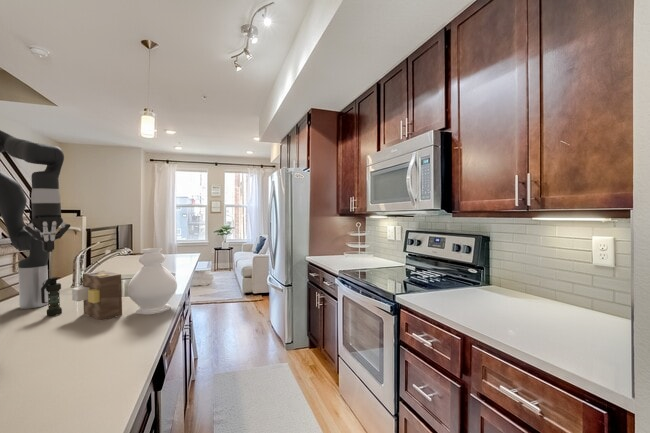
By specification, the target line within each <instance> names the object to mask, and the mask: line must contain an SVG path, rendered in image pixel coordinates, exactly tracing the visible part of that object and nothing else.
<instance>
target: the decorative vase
mask: <svg viewBox="0 0 650 433" xmlns="http://www.w3.org/2000/svg"><path fill="white" fill-rule="evenodd" d="M161 251H163V248H162V247H148V248H142V249H141V252H142V253H143V254H142V255H141V256H139V258H138V262H139V264H141V265H143V266H142V267H141V268H140V269H139V270H138V271H137V272H136V273H135V274H134V276H132V278H131V280H130V281H129V283H128V285H127V295H128V297H129V298H130V299H131V301H132V302H134V304H136V305H137V306H138V308H137V309H135V314H138V315H153V314H159V313H163V312H166V311H168V310H170V309H171V304H169V303H168V302H169V301H170V299H171V298H172V297H173V296H174V295H175V293H176V291H177V288H178V283H177V280H176V278H175V276H174V275H173V274H172V272H171V271H170V270H169V269H167V268H166V267H164V266H163V265H162V264H163V263H164V262H165V260H166V256H165V254H164V253H162V252H161Z"/></svg>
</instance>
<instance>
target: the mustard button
mask: <svg viewBox="0 0 650 433" xmlns="http://www.w3.org/2000/svg"><path fill="white" fill-rule="evenodd" d="M88 302H91V303H98V302H100V290H99V289H90V290H88Z"/></svg>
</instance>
